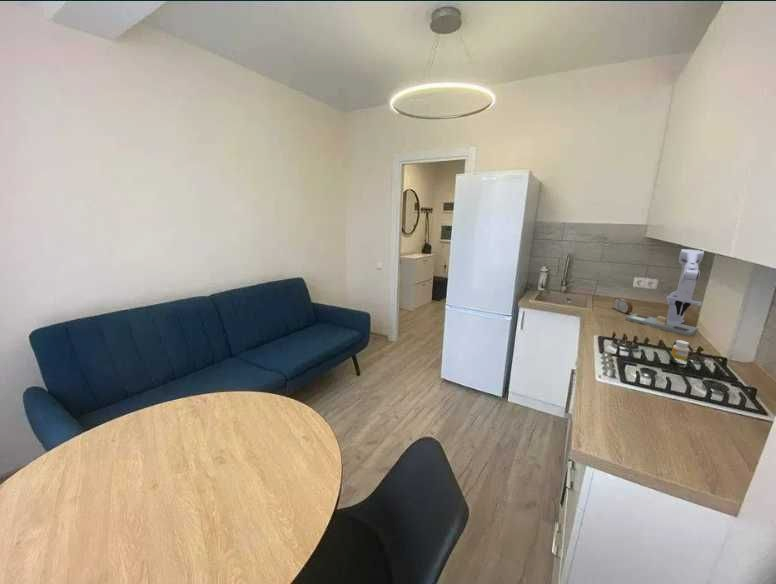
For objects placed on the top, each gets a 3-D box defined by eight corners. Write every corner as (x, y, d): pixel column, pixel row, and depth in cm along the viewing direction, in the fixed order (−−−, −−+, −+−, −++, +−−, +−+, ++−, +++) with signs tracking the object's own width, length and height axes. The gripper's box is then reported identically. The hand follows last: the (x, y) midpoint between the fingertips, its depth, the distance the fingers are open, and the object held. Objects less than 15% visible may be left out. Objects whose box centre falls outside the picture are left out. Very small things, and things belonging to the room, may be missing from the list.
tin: (631, 315, 206) (634, 302, 204) (626, 315, 206) (629, 302, 204) (616, 308, 221) (618, 296, 219) (611, 308, 221) (613, 296, 219)
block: (657, 322, 187) (659, 315, 186) (666, 324, 184) (667, 317, 183) (655, 323, 185) (657, 316, 184) (664, 325, 182) (665, 318, 181)
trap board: (634, 316, 204) (634, 313, 203) (697, 331, 180) (698, 328, 180) (625, 320, 196) (626, 317, 195) (690, 336, 172) (691, 332, 172)
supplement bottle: (670, 358, 144) (675, 338, 142) (686, 362, 140) (692, 342, 138) (668, 361, 141) (673, 341, 138) (684, 366, 137) (690, 345, 134)
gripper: (667, 289, 177) (661, 312, 181) (702, 295, 166) (695, 320, 169) (671, 288, 181) (665, 310, 185) (705, 293, 170) (698, 317, 173)
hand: (679, 315), depth 177 cm, fingers closed
